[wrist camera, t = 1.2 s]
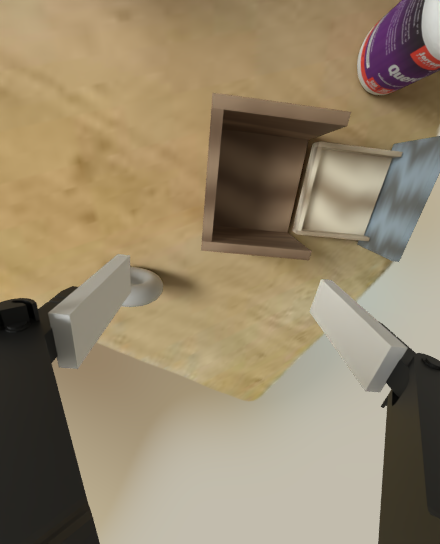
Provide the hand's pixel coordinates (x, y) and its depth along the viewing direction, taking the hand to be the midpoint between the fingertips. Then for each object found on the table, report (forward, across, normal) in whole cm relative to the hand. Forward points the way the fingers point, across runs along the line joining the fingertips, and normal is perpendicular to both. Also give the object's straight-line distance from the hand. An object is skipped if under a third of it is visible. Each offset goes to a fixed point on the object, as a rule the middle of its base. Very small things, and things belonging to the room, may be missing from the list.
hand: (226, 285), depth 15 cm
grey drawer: (+24, +20, +7) cm, 31 cm away
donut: (+24, -13, -12) cm, 30 cm away
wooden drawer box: (+24, +5, +6) cm, 25 cm away
